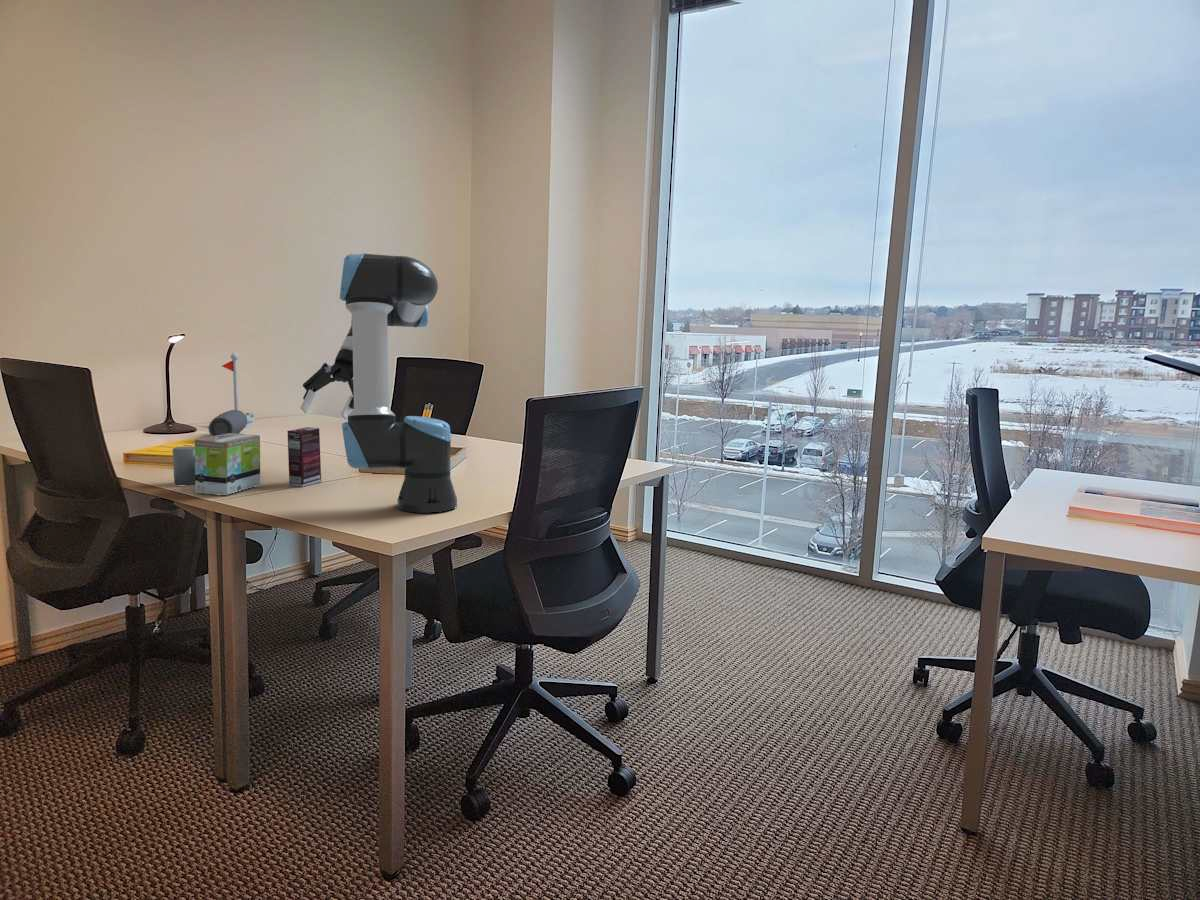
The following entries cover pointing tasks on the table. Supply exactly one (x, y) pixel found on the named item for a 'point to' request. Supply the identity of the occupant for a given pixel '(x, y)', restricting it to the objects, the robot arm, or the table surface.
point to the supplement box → (304, 456)
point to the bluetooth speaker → (228, 423)
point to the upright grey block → (184, 465)
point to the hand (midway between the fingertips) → (323, 413)
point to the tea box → (227, 463)
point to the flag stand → (233, 367)
